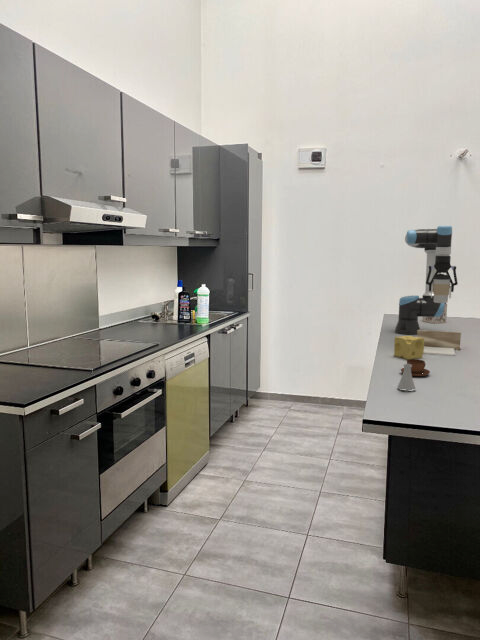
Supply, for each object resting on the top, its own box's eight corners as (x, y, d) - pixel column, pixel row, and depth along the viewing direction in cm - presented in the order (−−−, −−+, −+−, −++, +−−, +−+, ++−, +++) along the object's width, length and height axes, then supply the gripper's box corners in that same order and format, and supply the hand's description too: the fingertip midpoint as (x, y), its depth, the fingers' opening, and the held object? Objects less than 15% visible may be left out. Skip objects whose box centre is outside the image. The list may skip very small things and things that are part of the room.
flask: (394, 387, 209) (395, 362, 208) (411, 386, 210) (413, 362, 208) (401, 392, 202) (402, 367, 201) (419, 392, 203) (420, 366, 201)
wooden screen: (416, 345, 292) (417, 329, 291) (459, 348, 285) (460, 331, 283) (416, 347, 287) (417, 331, 285) (460, 350, 279) (461, 333, 278)
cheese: (408, 360, 257) (409, 339, 255) (392, 355, 266) (393, 336, 265) (423, 357, 262) (424, 338, 260) (407, 353, 271) (408, 334, 270)
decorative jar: (421, 321, 378) (423, 296, 375) (434, 320, 382) (435, 295, 380) (434, 324, 367) (435, 298, 364) (446, 322, 372) (448, 297, 369)
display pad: (422, 347, 286) (422, 346, 286) (453, 349, 280) (454, 348, 280) (421, 353, 271) (421, 352, 271) (455, 355, 265) (455, 354, 265)
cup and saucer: (407, 370, 237) (407, 356, 237) (433, 374, 230) (434, 360, 229) (396, 375, 228) (396, 361, 227) (423, 379, 221) (424, 365, 220)
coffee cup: (450, 303, 277) (452, 274, 274) (432, 303, 279) (434, 274, 276) (447, 301, 286) (449, 273, 283) (430, 301, 287) (431, 273, 285)
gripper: (421, 255, 278) (419, 297, 282) (465, 255, 271) (462, 299, 275) (422, 254, 285) (419, 296, 289) (464, 255, 278) (461, 297, 282)
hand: (440, 297), depth 282 cm, fingers closed on coffee cup, 8 cm apart
